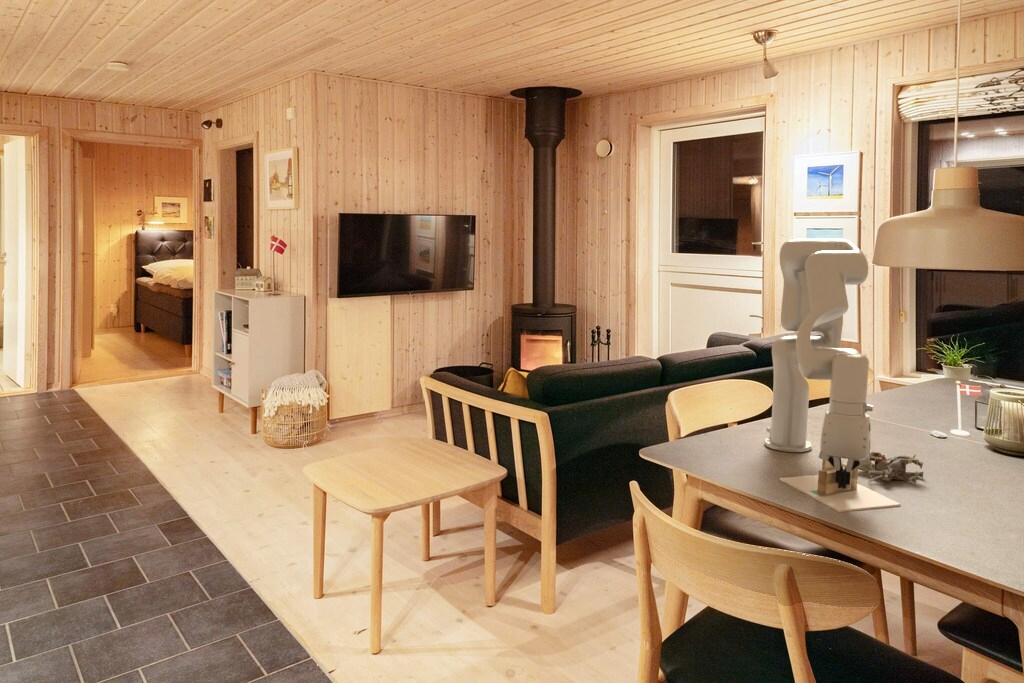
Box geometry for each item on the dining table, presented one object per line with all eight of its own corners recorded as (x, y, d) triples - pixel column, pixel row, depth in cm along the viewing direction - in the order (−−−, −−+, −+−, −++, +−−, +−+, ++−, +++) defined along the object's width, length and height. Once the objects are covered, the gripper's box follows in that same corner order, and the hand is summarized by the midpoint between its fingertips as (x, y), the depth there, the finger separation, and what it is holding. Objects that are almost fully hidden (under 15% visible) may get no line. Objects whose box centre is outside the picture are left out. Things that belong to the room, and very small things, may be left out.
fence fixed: (819, 475, 189) (821, 452, 188) (826, 474, 189) (828, 451, 188) (851, 490, 177) (853, 466, 176) (858, 490, 178) (860, 465, 177)
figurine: (909, 473, 176) (834, 459, 187) (908, 497, 177) (834, 482, 188) (931, 449, 191) (860, 437, 202) (929, 472, 192) (859, 459, 203)
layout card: (779, 479, 186) (780, 478, 186) (836, 474, 190) (836, 473, 190) (838, 512, 165) (838, 510, 165) (900, 505, 169) (900, 503, 169)
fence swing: (845, 487, 179) (846, 465, 178) (851, 489, 177) (853, 467, 176) (815, 493, 175) (816, 470, 174) (821, 495, 173) (823, 472, 172)
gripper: (885, 408, 170) (879, 487, 172) (814, 401, 177) (810, 477, 179) (882, 415, 163) (877, 497, 166) (809, 407, 171) (805, 486, 173)
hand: (842, 486), depth 173 cm, fingers closed
